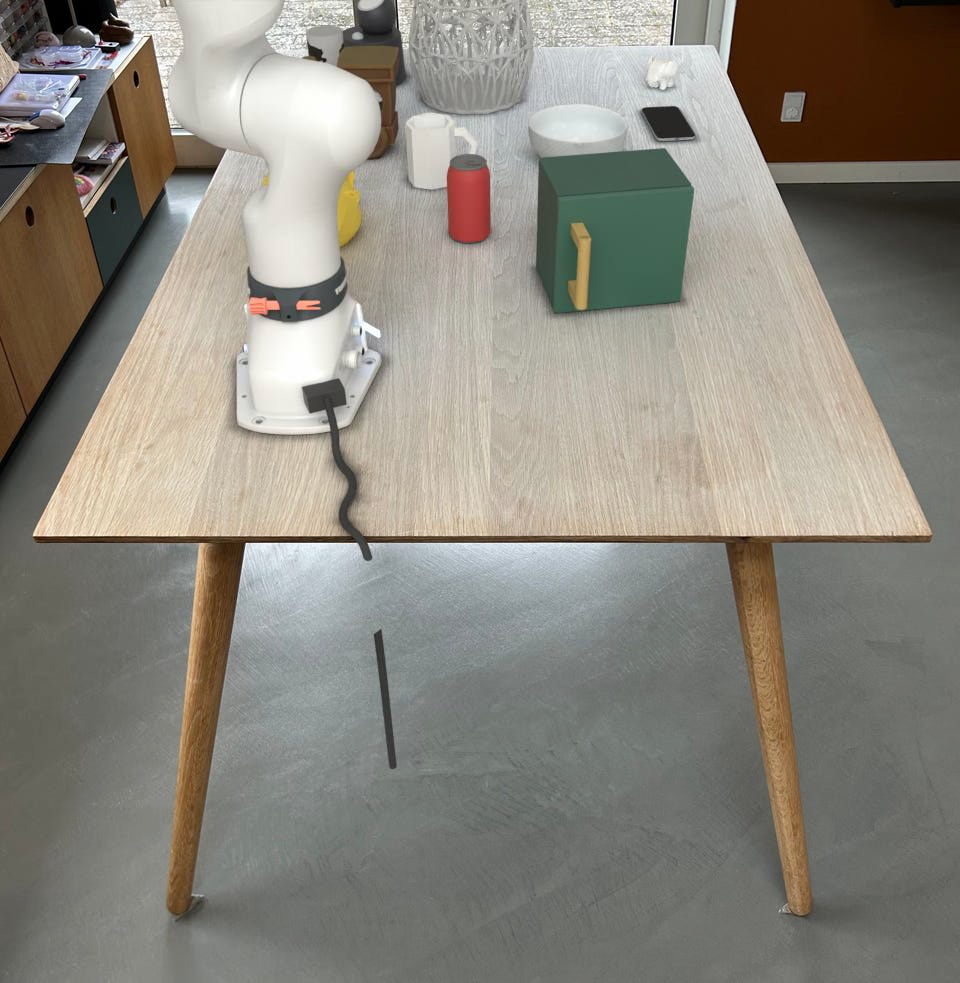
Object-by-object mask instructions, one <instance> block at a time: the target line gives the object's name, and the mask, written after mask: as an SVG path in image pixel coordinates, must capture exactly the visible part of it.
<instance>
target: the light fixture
mask: <svg viewBox="0 0 960 983" xmlns="http://www.w3.org/2000/svg"><path fill="white" fill-rule="evenodd" d="M355 18H356V22H357V23H358V25H355V26H350V27H348V28H346V29H344V30H342V31H343V41H344V47H352V46H390V47H399V61H400V63H399V69H398V72H397V75H396V87H397V86H399V85H401V84H402V83H404V82H405V81H406V79H407V74H406V64H405V57H404V46H403V40H402V39H403V38H402V32H401V29H399V28H397V27H394V26H395V24H396V20H397V10H396V6H395V4H394V2H393V1H392V0H359V1H358V3H357V4H356V8H355Z"/></svg>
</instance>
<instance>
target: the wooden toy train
mask: <svg viewBox="0 0 960 983" xmlns="http://www.w3.org/2000/svg"><path fill="white" fill-rule="evenodd" d="M301 58H302V59H308V60H313V61H317V60H316V58H315V57H313V56H309V55H306V56H302V57H301ZM399 63H400V61H399V47H390V46H352V47H344V48H343V50H342V51H341V52H340V55H339V57H338V60H337V65H336V66H337V67H338V68H340V69H343V70H345V71H347V72H349V73H351V74H353V75H355V76H357V77H359V78H362V79H364V80H365V81H367V82H368V83H369V84H370V86H371V87H372V88H373V90H374V92H375V93H377V94H378V96H380V98H381V100H380V101H378V103H379V106H380V111H381V130H380V135H379V138H378V141H377V144H376V146H375V148H374V150H373V152H372V153H371V155H370V156H369V157H368V158H367V160H368V159H369V160H373V159H377V158H379V157H382V156H383V155H384V154H385V152H387V149H388V147H389V146H395V144H396V140H397V138H398V133H399V129H400V125H399V112H398V110H396V104H397V86H396V75H397V72H398V69H399Z"/></svg>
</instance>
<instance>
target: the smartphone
mask: <svg viewBox="0 0 960 983" xmlns="http://www.w3.org/2000/svg"><path fill="white" fill-rule="evenodd" d="M640 112H641V114H642V116H643V118H644V120H645V122H646V123H647V125H648V127H649V129H650V131H651V133H652V134H653V136H654V138H655V140H656V141H658V142H674V141H692V140H694V139H695V138H696V134H695V132H694V130H693V129H692V127H691V125H690V124H689V122H688V121H687V119H686V117H685V116H684V114H683V113H682V111H681V109H680V108H679V106H676V105H666V106H665V105H664V106H663V105H662V106H645V107H642V108H641V111H640Z"/></svg>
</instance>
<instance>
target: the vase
mask: <svg viewBox="0 0 960 983" xmlns="http://www.w3.org/2000/svg"><path fill="white" fill-rule="evenodd" d="M457 1H458V3H459V6H458V5H457V3H456V2H455V1H454V0H434V2H431V1H428V0H414V2H413V7H412V13H411V20H410V26H409V35H408V56H409V62H410V63H409V65H410V69H411V71H412V75H413V78H414V81H415V85H416V87H417V90H418V91H419V93H420V95H421V96H422V97H421V98H422V101H423V102H424V103H425V104H426V105H427V107H430V108H432V109H435V110H437V111H440V112H443V113H450V114H455V115H488V114H492V113H496V112H500V111H504V110H509V109H510V108H511V107H513V106H515V105H516V104H518V103H519V102H521V101H522V97H523V93H524V92H525V89H526V87H527V84H528V82H529V80H530V76H531V72H532V68H533V64H534V54H535V52H534V34H533V24H532V20H531V16H530V11H529V10H530V9H529V7H528V0H509V1H508V0H492V1H491V0H486V1H487V3H488V5H487V4H486V3H485V2H484V0H457ZM475 5H477V6H475ZM484 10H485V11H484ZM453 11H456V12H453ZM500 11H503V12H502V13H501V14H500ZM444 12H445V13H447V14H448V15H446V16H445V17H443V15H444ZM436 13H437V15H435V14H436ZM428 14H429V15H430V17H428V16H429V15H428ZM472 14H473V15H476V16H475V17H473V18H471V17H472ZM506 16H507V20H505V19H504V18H505V17H506ZM423 18H424V21H423ZM428 18H429V20H428ZM522 18H523V19H522ZM474 23H480V26H479V27H478V28H477V29H476V30H475V29H474V27H473V26H472V25H473V24H474ZM502 24H504V25H505V26H507V27H509V28H508V30H506V29H505V28H504V26H503V25H502ZM444 25H451V27H450V28H449V29H448V31H447V30H446V28H445V27H444ZM457 27H461V28H462V29H461V30H460V31H459V32H458V33H457ZM487 27H490V28H491V29H490V30H489V33H487ZM453 39H454V40H453ZM465 39H466V43H467V56H464V46H465ZM482 39H483V40H482ZM515 39H516V40H515ZM489 41H490V44H489V45H490V46H489V47H488V43H489ZM495 43H496V44H495ZM502 43H503V46H504V50H503V52H502V53H500V47H501V45H502ZM437 44H438V49H439V53H438V52H437V51H438V50H437ZM446 45H447V47H448V51H447V47H446ZM495 45H496V47H495ZM472 46H473V48H472ZM488 48H489V49H488ZM494 48H495V49H494ZM455 49H456V50H455ZM494 50H495V54H494ZM473 51H474V54H475V57H474V56H473ZM522 55H523V57H522ZM500 58H502V61H501V67H500V68H499V63H500ZM424 60H425V62H424ZM439 60H440V63H441V65H440V63H439ZM493 61H494V62H493ZM464 62H467V63H468V70H469V71H468V70H467V69H466V68H465V67H464ZM474 63H476V64H475V65H474ZM454 66H455V68H454ZM483 66H484V67H485V68H484V74H483V69H482V67H483Z"/></svg>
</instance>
